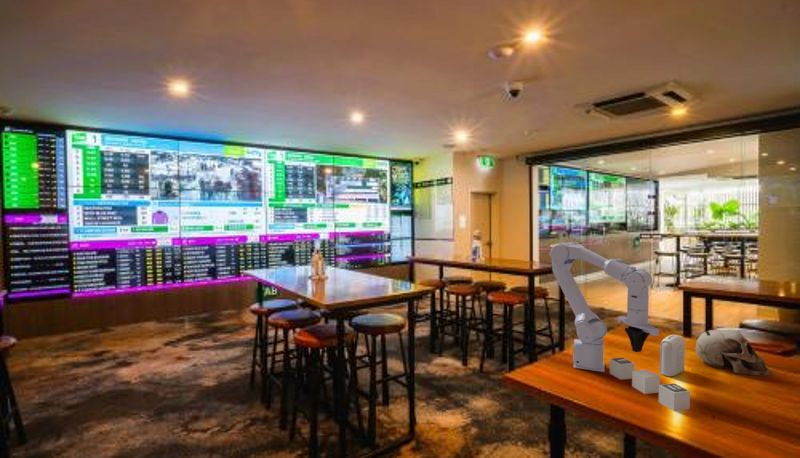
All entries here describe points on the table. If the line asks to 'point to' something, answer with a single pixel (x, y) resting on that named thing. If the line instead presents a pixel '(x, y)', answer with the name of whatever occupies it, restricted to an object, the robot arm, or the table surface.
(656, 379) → the plain block
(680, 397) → the marked block 2
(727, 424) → the table surface
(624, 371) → the marked block 1
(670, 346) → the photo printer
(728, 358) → the grey skull
